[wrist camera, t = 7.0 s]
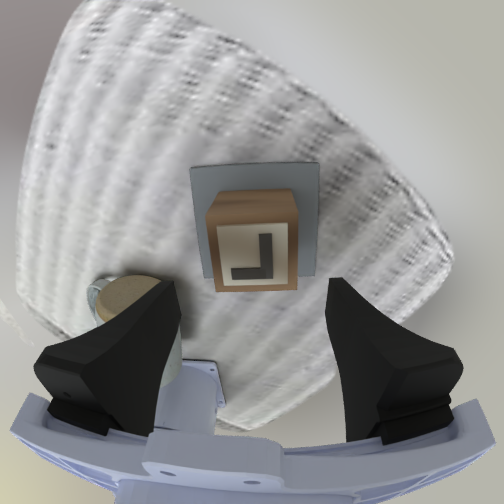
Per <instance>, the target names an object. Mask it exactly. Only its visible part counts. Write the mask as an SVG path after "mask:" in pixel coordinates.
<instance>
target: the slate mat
mask: <svg viewBox="0 0 504 504" xmlns="http://www.w3.org/2000/svg"><path fill="white" fill-rule="evenodd" d="M189 170H190V180H191V188H192V197H193V205H194V213H195V220H196V228H197V235H198V242H199V249H200V255H201V262H202V268H203V275H204V278H214V276H213V269H212V263H211V256H210V249H209V242H208V235H207V227H206V220H205V215H206V213H207V211H208V210H209V208H210V206H211V204H212V203H213V201H214V199H215V198H216V196H217V194H218V192H221V191H237V190H257V189H285V188H290V189H291V192H292V195H293V198H294V201H295V203H296V206H297V209H298V277H303V276H314V275H315V261H316V245H317V226H318V199H319V163H318V162H281V163H249V164H230V165H214V166H202V167H191V168H190V169H189Z"/></svg>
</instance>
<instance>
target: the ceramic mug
mask: <svg viewBox="0 0 504 504" xmlns="http://www.w3.org/2000/svg"><path fill="white" fill-rule="evenodd" d="M159 282H161V280H159V279H156V278H153V277H149V276H142V275H131V276H125V277H121V278H118V279H116V280H114V281H112V282H110V281H109V280H105V279H99V280H97V281H95V282H93V283H92V284H90V285H89V286H88V288H87V302H88V305H89V308H90V311H91V313H92V315H93V317H94V319H95V321H96V323H97V327H99V326H100V325H102V324H104V323H106V322H107V321H109V320H110V319H112V318H114V317H115V316H117V315H118V314H119V313H121V312H122V311H123V310H125V309H126V308H127V307H129V306H130V305H131V304H133V303H134V302H135V301H137V300H138V299H139V298H140V297H142V296H143V295H144V294H145V293H146V292H148V291H149V290H150V289H151V288H153V287H154V286H155V285H156V284H158V283H159ZM99 290H100V292H99ZM181 366H182V349H181V334H180V324H179V328H178V333H177V335H176V338H175V341H174V344H173V347H172V349H171V352H170V355H169V358H168V360H167V363H166V366H165V369H164V372H163V376H162V380H161V385H160V388H162V387H164V386H166V385H167V384H169V383H170V382H172V381H173V380H174V379H175V378H176V377H177V375H178V374H179V372H180V369H181Z"/></svg>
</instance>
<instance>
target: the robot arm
mask: <svg viewBox="0 0 504 504" xmlns="http://www.w3.org/2000/svg"><path fill="white" fill-rule="evenodd" d="M325 316H326V323H327V329H328V334H329V337H330V341H331V344H332V348H333V351H334V354H335V358H336V361H337V365H338V368H339V373H340V378H341V385H342V392H343V401H344V409H345V422H346V443H340V444H332V445H324V446H314V447H301V448H282V446H281V445H280V444H279V443H277V442H275V441H272V440H269V439H266V438H258V437H249V436H225V435H214V430H215V423H216V416H217V409H218V407H222V408H223V407H225V405H226V403H225V399H224V395H223V391H222V387H221V382H220V378H219V374H218V369H217V365H216V363H214V362H205V361H188V360H182V366H181V369H180V372H179V374H178V375H177V377H176V378H175V379H174V380H173V381H172V382H170V383H169V384H167V385H166V386H164V387H162V388H160V385H161V380H162V376H163V372H164V369H165V366H166V363H167V360H168V358H169V355H170V352H171V349H172V347H173V344H174V341H175V338H176V335H177V333H178V328H179V324H180V319H181V312H180V308H179V304H178V299H177V295H176V291H175V287H174V282H173V281H161V282H159V283H158V284H156V285H155V286H154V287H153V288H151V289H150V290H149V291H148V292H146V293H145V294H144V295H143V296H142V297H140V298H139V299H138V300H137V301H135V302H134V303H133V304H131V305H130V306H129V307H127V308H126V309H125V310H123V311H122V312H121V313H119V314H118V315H117V316H115V317H114V318H112V319H110V320H109V321H107V322H106V323H104V324H102V325H100V326H99V327H97V328H95V329H93V330H91V331H89V332H87V333H85V334H82V335H80V336H78V337H75V338H73V339H70V340H67V341H64V342H61V343H58V344H54V345H51V346H47V347H46V348H45V349H44V350H43V352H42V353H41V355H40V356H39V358H38V360H37V361H36V363H35V364H34V371H35V374H36V376H37V378H38V379H39V380H40V382H41V383H42V384H43V386H44V387H45V388H46V390H47V391H48V392H49V393H50V394H51V395H52V397H53V399H52V401H51V403H50V402H49V401H48V400H47V399H45V398H43V397H40V396H38V395H36V394H33V393H29V395H28V397H27V398H26V400H25V402H24V403H23V405H22V407H21V409H20V411H19V413H18V415H17V417H16V418H15V420H14V422H13V424H12V426H11V429H10V432H11V433H12V434H13V435H14V436H15V437H17V439H19V440H20V441H21V442H22V443H24V444H25V445H26V446H27V447H28V448H30V449H31V450H32V451H33V452H35V453H36V454H37V455H39V456H40V457H41V458H43V459H45V460H47V461H48V462H50V463H52V464H55V465H56V466H58V467H60V468H62V469H64V470H66V471H68V472H70V473H72V474H74V475H76V476H78V477H80V478H82V479H84V480H86V481H88V482H91V483H93V484H95V485H98V486H100V487H102V488H105V489H107V490H110V491H112V493H113V495H114V497H115V502H114V504H376V503H379V502H383V501H386V500H390V499H393V498H396V497H399V496H402V495H405V494H407V493H410V492H413V491H415V490H418V489H421V488H423V487H425V486H428V485H430V484H433V483H435V482H437V481H440V480H442V479H444V478H446V477H448V476H451V475H453V474H455V473H457V472H459V471H461V470H463V469H465V468H466V467H468V466H469V465H470V464H471V463H473V462H475V461H476V460H477V459H479V458H480V457H481V456H482V455H484V454H485V453H486V452H488V451H489V450H490V449H491V448H492V447H494V446H495V444H496V442H495V439H494V437H493V434H492V432H491V429H490V427H489V425H488V422H487V420H486V417H485V415H484V413H483V410H482V408H481V406H480V404H479V402H478V400H477V399H473V400H471V401H469V402H466V403H463V404H461V405H458V406H457V407H455V408H454V409H452V410H451V409H450V406H449V404H450V403H451V398H450V395H449V393H450V392H451V390H452V389H453V388H454V386H455V385H456V383H457V382H458V380H459V379H460V377H461V375H462V372H463V364H462V362H461V360H460V358H459V357H458V355H457V353H456V352H455V350H454V348H451V347H448V346H444V345H441V344H438V343H435V342H433V341H430V340H428V339H426V338H423V337H421V336H419V335H417V334H415V333H413V332H411V331H409V330H407V329H406V328H403V327H402V326H400V325H399V324H397V323H396V322H394V321H393V320H391V319H390V318H388V317H387V316H385V315H384V314H383V313H381V312H380V311H379V310H377V309H376V308H375V307H374V306H373V305H371V304H370V303H369V302H368V301H367V300H366V299H364V298H363V297H362V296H361V295H360V294H359V293H358V292H357V291H356V290H355V289H354V288H353V287H352V286H351V285H350V284H349V283H348V282H346V281H345V280H344V279H343V278H329V285H328V294H327V302H326V309H325Z"/></svg>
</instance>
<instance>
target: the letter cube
mask: <svg viewBox="0 0 504 504" xmlns="http://www.w3.org/2000/svg"><path fill="white" fill-rule="evenodd" d="M205 220H206V227H207V235H208V242H209V249H210V256H211V263H212V269H213V276H214V282H215V289H216V292H248V291H281V290H297V278H298V209H297V206H296V203H295V201H294V198H293V195H292V192H291V189H290V188H285V189H257V190H237V191H221V192H218V194H217V196H216V198H215V199H214V201H213V203H212V204H211V206H210V208H209V210H208V211H207V213H206V215H205Z"/></svg>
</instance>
